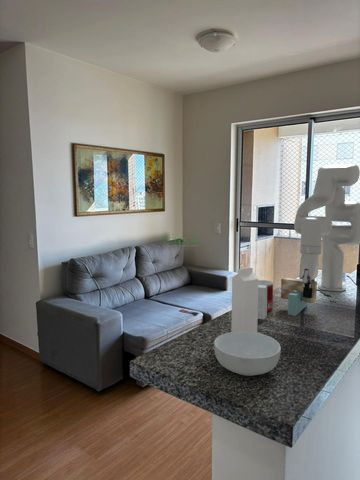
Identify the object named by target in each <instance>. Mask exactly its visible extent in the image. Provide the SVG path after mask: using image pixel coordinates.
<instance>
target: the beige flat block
mask: <svg viewBox="0 0 360 480" xmlns="http://www.w3.org/2000/svg"><path fill="white" fill-rule="evenodd" d="M280 280H281V281H280V283H281V284H280V299H282V300H288V295H289V294H290V293H291V292H292V291H301V292H303V285H304V283H303V280H304V279H300V278H289V277H282V278H281V279H280ZM308 282H309V284H310V281H308ZM311 288H312V298H305V297H303V302H307V304H308V303H309V304H316V303H317V291H318V281H316V280H315V281H312V286H311Z"/></svg>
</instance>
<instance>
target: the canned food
mask: <svg viewBox="0 0 360 480" xmlns="http://www.w3.org/2000/svg"><path fill="white" fill-rule="evenodd" d="M258 285H267V313H269V312H271V311H272V310H273V300H274V297H273V296H274V282H272V281H270V280H264V279H263V280H259V279H258Z"/></svg>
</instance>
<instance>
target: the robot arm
mask: <svg viewBox="0 0 360 480" xmlns="http://www.w3.org/2000/svg"><path fill="white" fill-rule="evenodd" d="M359 178H360V167H359V166H358V165H357V164H355V163H352V164H351V163H349V164H331V165H322V166H321V167H319V168H318V170H317V176H316V179H315V183H314V188H313V192H312V195H311V196H309V197H308V198H306V199H305V200H304V201H303V202H302V203H301V204H300V205H299V207H298V209H297V210H296V214H295V218H294V224H293V228H294V231H295V232H296V234H299V235H300V248H299V252H300V254H301V257H300V264H299V276H298V279H300V280H303V283H304V285H303V297H305V298H312V288H311V286H312V281H316V278H317V277H318V275H319V255H321V254H322V261H321V279H320V281H321V283H317V289H320V290H322V291H327V292H344V291H346V288H347V287H346V286H345V285H343V279H344V257H345V254H344V251H343V249H342V247H340V245H347V246H358V245H359V244H360V203H359V202H358V201H346V190H345V187H351V186H353V185H355V184H357V182H358V181H359ZM323 207H324V208H325V209H324V214H325V215H324V216H320V215H319V216H317V215H315V216H313V215H311V216H310V215H308V214H309V213H311V212H312V211H315V210H318V209H320V208H323ZM333 222H335V224H334V223H333ZM336 222H337V223H338V222H339V224H337V223H336ZM341 223H350V224H341ZM308 281H310V284H309V282H308Z"/></svg>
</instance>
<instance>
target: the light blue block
mask: <svg viewBox="0 0 360 480" xmlns="http://www.w3.org/2000/svg"><path fill="white" fill-rule="evenodd" d="M287 304H288V305H287V315H288V316H293V317H297V315H299V314H300V313H301V312H302V311H303V310H304V309H305V308H306V307H308V303H307V302H303V292H301V291H292V292H291V293H290V294H289V295H288V299H287Z"/></svg>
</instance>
